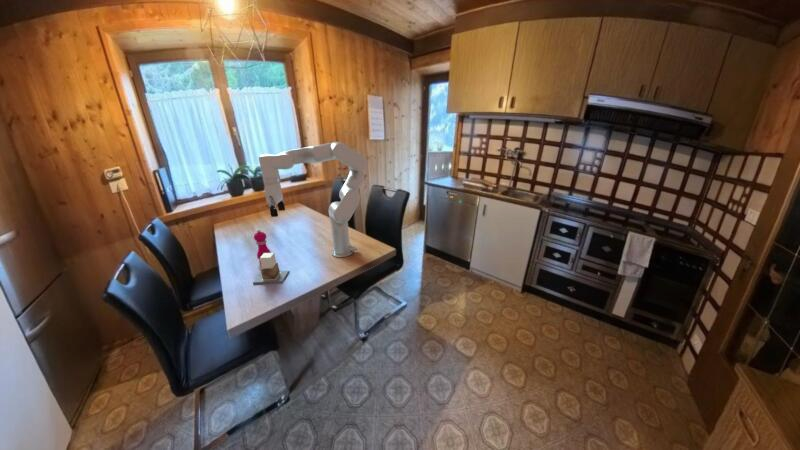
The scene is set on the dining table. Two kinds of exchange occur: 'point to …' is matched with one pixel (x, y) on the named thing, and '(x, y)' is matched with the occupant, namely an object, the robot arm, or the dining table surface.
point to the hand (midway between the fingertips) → (278, 213)
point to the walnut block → (270, 272)
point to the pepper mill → (261, 244)
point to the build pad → (279, 279)
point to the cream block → (268, 260)
